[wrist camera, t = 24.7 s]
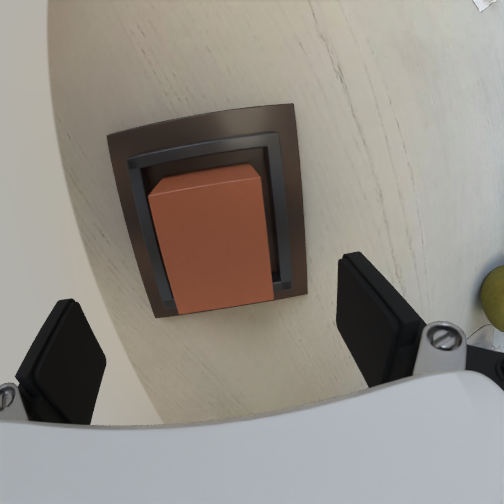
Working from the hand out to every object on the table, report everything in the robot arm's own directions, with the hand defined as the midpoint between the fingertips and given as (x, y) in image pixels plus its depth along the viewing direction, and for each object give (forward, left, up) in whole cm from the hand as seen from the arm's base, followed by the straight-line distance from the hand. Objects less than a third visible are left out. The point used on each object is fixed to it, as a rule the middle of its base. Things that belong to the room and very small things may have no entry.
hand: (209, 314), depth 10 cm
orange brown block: (0, 0, -11) cm, 11 cm away
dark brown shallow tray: (0, 0, -12) cm, 12 cm away
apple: (+32, +6, -12) cm, 35 cm away
